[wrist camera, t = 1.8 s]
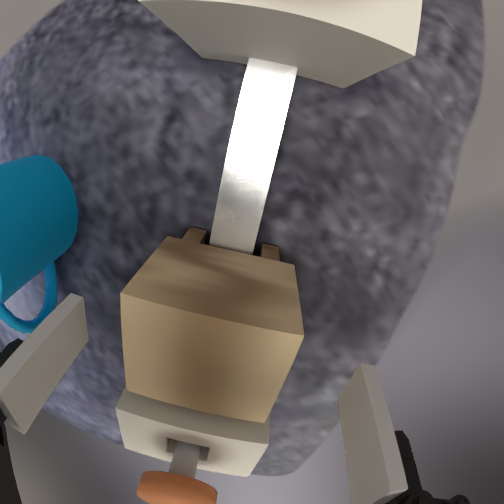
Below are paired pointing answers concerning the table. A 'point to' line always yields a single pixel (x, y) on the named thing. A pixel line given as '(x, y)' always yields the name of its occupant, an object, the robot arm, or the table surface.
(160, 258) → the block
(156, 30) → the table surface
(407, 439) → the robot arm
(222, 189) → the rail
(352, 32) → the cabinet
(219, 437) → the cabinet
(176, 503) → the plunger
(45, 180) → the mug
